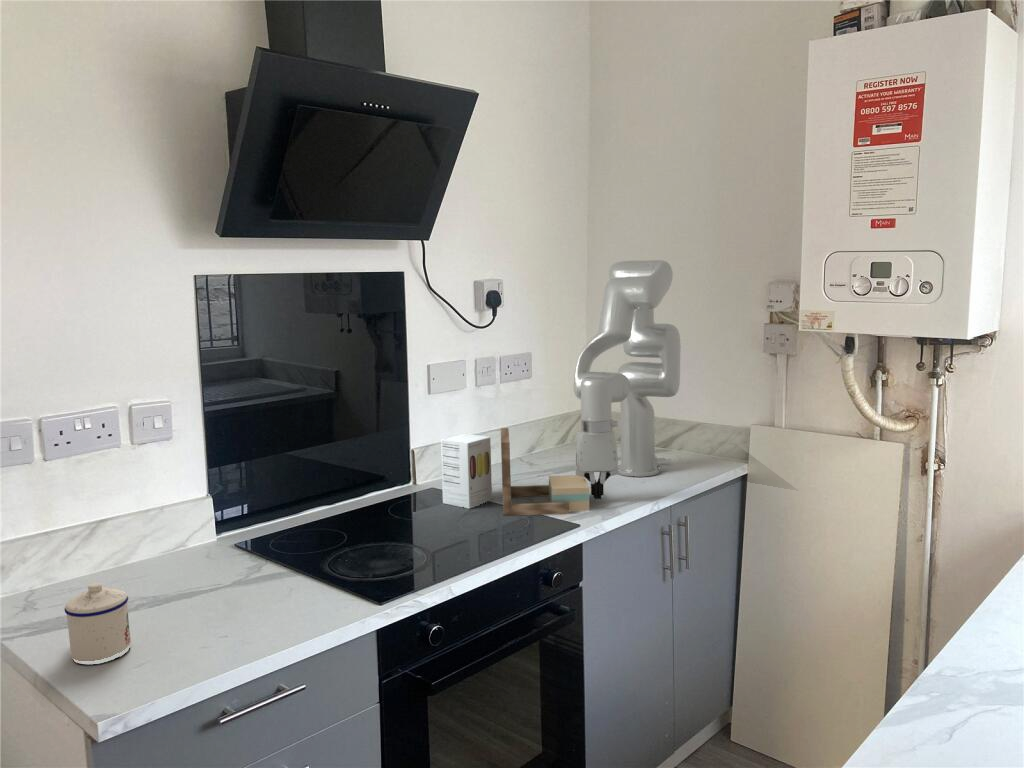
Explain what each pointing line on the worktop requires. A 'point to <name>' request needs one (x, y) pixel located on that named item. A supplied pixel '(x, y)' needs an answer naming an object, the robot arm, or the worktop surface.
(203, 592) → the worktop surface
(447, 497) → the supplement box
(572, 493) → the carton
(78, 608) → the teacup with lid
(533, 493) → the display stand
